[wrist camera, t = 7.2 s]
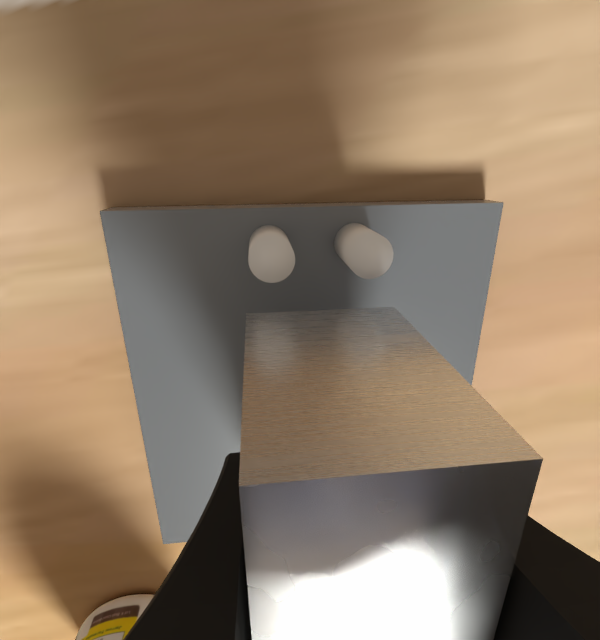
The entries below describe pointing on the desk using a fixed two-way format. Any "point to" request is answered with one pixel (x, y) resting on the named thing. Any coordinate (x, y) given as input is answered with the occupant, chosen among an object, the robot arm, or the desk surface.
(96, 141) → the desk surface
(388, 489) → the block
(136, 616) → the supplement bottle
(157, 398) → the pin tray
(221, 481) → the robot arm
